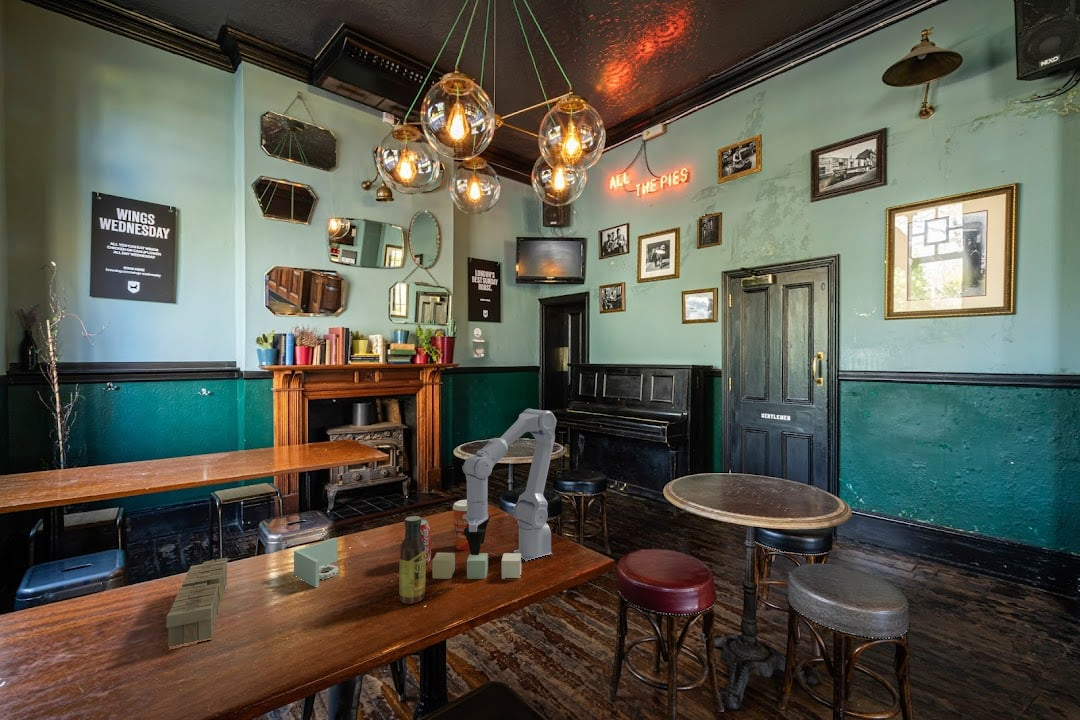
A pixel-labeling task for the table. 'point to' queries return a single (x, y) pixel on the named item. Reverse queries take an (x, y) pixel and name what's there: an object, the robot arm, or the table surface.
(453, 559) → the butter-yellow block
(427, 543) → the soda can
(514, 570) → the cream block
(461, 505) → the paper cup
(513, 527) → the table surface
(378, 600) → the table surface
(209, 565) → the block tower
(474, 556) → the sage green block
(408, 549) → the sauce bottle
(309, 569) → the right angle wall
